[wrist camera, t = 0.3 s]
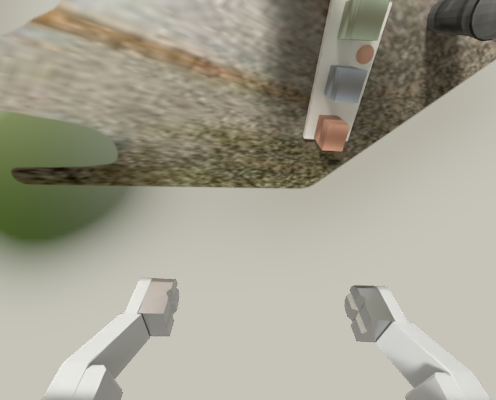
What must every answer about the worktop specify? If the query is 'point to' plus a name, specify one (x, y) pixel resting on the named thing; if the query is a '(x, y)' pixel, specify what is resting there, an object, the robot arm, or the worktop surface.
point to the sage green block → (362, 19)
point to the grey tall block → (345, 83)
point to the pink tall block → (331, 132)
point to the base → (341, 55)
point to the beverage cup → (464, 18)
